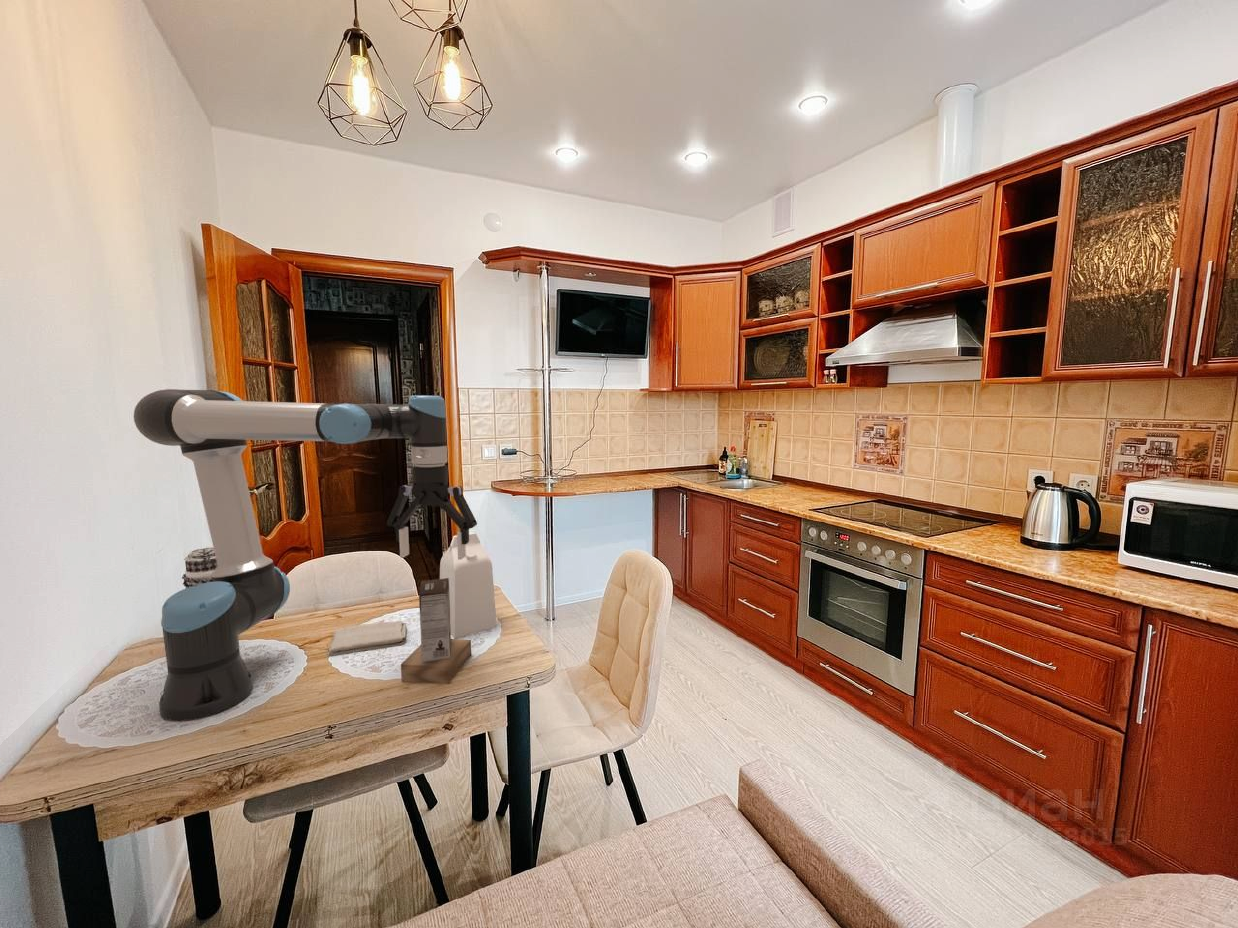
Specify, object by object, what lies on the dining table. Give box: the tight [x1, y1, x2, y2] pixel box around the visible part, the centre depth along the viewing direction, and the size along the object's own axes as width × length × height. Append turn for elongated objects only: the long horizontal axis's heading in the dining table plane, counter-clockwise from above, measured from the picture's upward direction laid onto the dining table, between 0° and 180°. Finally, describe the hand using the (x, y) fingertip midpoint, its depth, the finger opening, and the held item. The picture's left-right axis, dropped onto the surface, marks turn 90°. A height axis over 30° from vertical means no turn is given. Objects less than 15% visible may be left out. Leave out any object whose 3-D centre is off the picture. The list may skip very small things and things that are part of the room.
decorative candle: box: [181, 547, 218, 589], centre depth 128 cm, size 9×9×25 cm
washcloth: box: [328, 620, 407, 657], centre depth 133 cm, size 12×18×3 cm, turn 113°
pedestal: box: [400, 638, 472, 685], centre depth 119 cm, size 11×13×4 cm
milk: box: [439, 532, 498, 639], centre depth 141 cm, size 12×12×26 cm
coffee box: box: [418, 578, 452, 662], centre depth 118 cm, size 9×6×16 cm
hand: (433, 557), depth 116 cm, fingers open, 13 cm apart
